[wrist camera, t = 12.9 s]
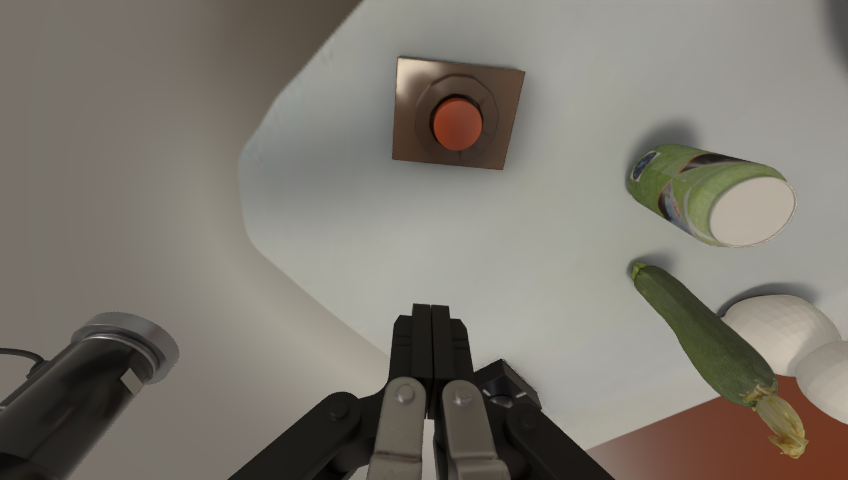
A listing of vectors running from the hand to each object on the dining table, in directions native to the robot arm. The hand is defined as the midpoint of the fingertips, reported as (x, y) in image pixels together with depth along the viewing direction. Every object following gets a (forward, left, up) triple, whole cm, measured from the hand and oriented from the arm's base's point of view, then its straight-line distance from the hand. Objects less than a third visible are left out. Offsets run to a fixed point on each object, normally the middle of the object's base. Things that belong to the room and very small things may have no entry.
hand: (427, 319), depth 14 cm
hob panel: (+14, -32, -21) cm, 41 cm away
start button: (+2, +5, -17) cm, 18 cm away
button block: (+2, +5, -21) cm, 21 cm away
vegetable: (+26, -10, -21) cm, 35 cm away
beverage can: (+22, +2, -21) cm, 30 cm away
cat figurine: (+42, -15, -21) cm, 49 cm away
